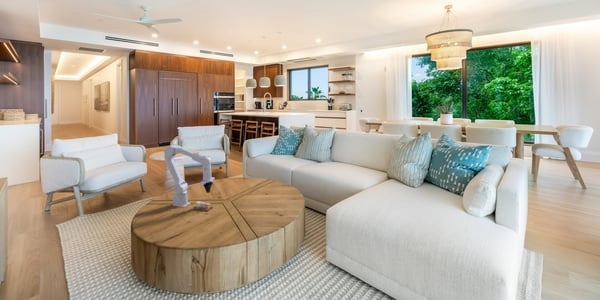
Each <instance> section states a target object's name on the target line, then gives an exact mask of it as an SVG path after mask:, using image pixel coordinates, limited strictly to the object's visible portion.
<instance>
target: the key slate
mask: <svg viewBox="0 0 600 300" xmlns="http://www.w3.org/2000/svg"><path fill="white" fill-rule="evenodd" d="M201 202H202V203H200V207H201V208H205V204H206V203H207V202H204V201H201Z"/></svg>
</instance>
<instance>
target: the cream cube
mask: <svg viewBox="0 0 600 300" xmlns="http://www.w3.org/2000/svg"><path fill="white" fill-rule="evenodd" d="M202 202H203V201H200V200H199V201H196V202H195V206H196V207H200V203H202Z"/></svg>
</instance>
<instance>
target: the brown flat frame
mask: <svg viewBox="0 0 600 300" xmlns="http://www.w3.org/2000/svg"><path fill="white" fill-rule="evenodd" d="M213 209H214V205H211V207H210V208H209V209H207V208H201V207H196V205H195V206H193V210H197V211H203V212H209V211H211V210H213Z"/></svg>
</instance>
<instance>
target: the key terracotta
mask: <svg viewBox="0 0 600 300" xmlns="http://www.w3.org/2000/svg"><path fill="white" fill-rule="evenodd" d="M211 206H212V205H211V202H206V204H205V208H207V209H209V208H210V207H211Z"/></svg>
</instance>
